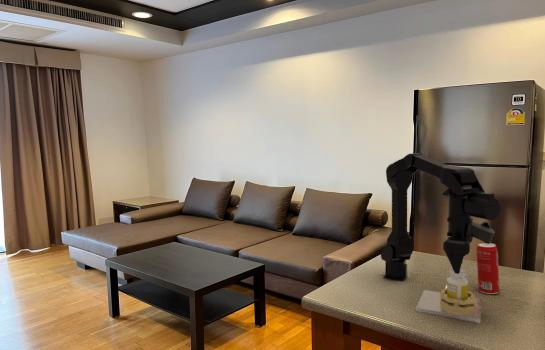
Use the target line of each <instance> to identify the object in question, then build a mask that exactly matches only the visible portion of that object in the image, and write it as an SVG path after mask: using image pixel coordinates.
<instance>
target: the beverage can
mask: <svg viewBox="0 0 545 350" xmlns="http://www.w3.org/2000/svg"><path fill="white" fill-rule="evenodd" d="M475 249H476V264H477V265H476V266H477V283H478V285H477V287H478V290H479V292H480V293H482V294H484V295H485V294H486V295H497V294H499V292H500V275H499V270H500V269H499V253H498V252H499V250H498V247H497V244H496V243H492V242H490V244H487V243H484V242H480V243H477V246H476V248H475Z"/></svg>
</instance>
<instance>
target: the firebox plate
mask: <svg viewBox="0 0 545 350" xmlns="http://www.w3.org/2000/svg"><path fill="white" fill-rule="evenodd" d="M448 302H449V303H448ZM450 303H454V305H452V304H450ZM459 304H460V305H466V306H459ZM467 304H468V305H467ZM482 309H483V299H482V298H476V294H475V293H474V292H472V291H470V290H468V298H466V299H458V298H452V297H450V296H448V295H447V288H446V289H445V288H442V289H441V291H435V290H434V291H433V290H429V289H428V290H427V289H424V290H423V292H422V294H421V296H420V298H419V300H418V302H417V305H416V306H415V311H416V312H420V313H425V314H430V315H436V316H440V317H446V318H450V319H456V320H461V321H466V322H470V323H478V324H481V322H482V311H483V310H482Z"/></svg>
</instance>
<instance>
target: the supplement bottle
mask: <svg viewBox="0 0 545 350" xmlns="http://www.w3.org/2000/svg"><path fill="white" fill-rule="evenodd" d="M465 277H466V271H465V270H463V269H461V268H460V273H459V274H456V273H454V270H453V268H452V269H450V270H449V277H447V279H446V285H447V295H448V296H450V297H452V298H458V299H466V298H468V291H469V281H468V279H467V278H465ZM448 303H449V302H448ZM450 304H452V305H454V303H450ZM467 305H468V304H467ZM459 306H466V305H460V304H459Z"/></svg>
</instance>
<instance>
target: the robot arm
mask: <svg viewBox="0 0 545 350" xmlns="http://www.w3.org/2000/svg"><path fill="white" fill-rule="evenodd" d="M418 171H421V172H423V173H425V174H428V175H430V176H433V177H435V178H437V179H438V180H439V182H440V183H441V184H442V185H443V186H445V187H446V188H447V189H446V190H445V191H443V192H442V196H444V197H448V201H447V202H448V210H447V214H448V216H447V218H446V219H447V220H446V222H447V232H446V238H445V239H444V241H443V242H442V243H443V245H442V250H443V252H444V253H445V255H446V257H447V260H448V261H449V263H450V267H452V269H453V270H454V273H456V274H459V273H460V269H461V267H462V264H463V261H464V257H465V256H468V255H469V254H470V251H471V243H472V242H473V239H477V240H479V241H482V242H483V243H487V244H490V243H492V239H493V237H494V235H495V230H494V229H493V228H491V224H490V222H488V221H494V220H496V219H497V218H498V217H499V215H500V212H501V205H500V202H499V200H498V199H497V198H495V195H496V194H495V193H494V192H486V191H485V190H484V187H483V186H482V184H481V182H480V181H479V179H478V178H477V175H476V172H475V170H474V169H472V168H471V167H465V166H458V165H457V166H456V165H449V164H445V163H443V162H441V161H438V160H436V159H434V158H431V157H428V156H426V155H424V154H423V153H421V152H417V153H416V152H414V153H408V154H407V155H405V156H404V157H402V158H400V159H398V160H396V161H394V162H392V163H390V164H389V165H388V166H387V167H386V170H385V175H386V183H387V184H388V185H389V188H390V189H391V232H390V233H389V235H388V237H387V239H386V246H385V248H384V249H383V250H382V251H381V252H380V258H381V259H380V260H382V261H384V262H385V264H384V265H385V269H384V270H385V274H384V276H383V278H384V279H389V280H394V281H400V282H404V281H405V279H406V278H407V276H408V264H407V261H410V260H411V256H412V255H413V252H414V250H415V247H414V243H415V239H414V238H413V237H411V236H410V234H409V233H408V190H409V188H410V186H411V185H412V182H413V177H414V174H416V173H417V172H418ZM473 218H478V219H483V222H481V223H479V222H478V223H476V222H474V219H473ZM485 220H487V221H485Z"/></svg>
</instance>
